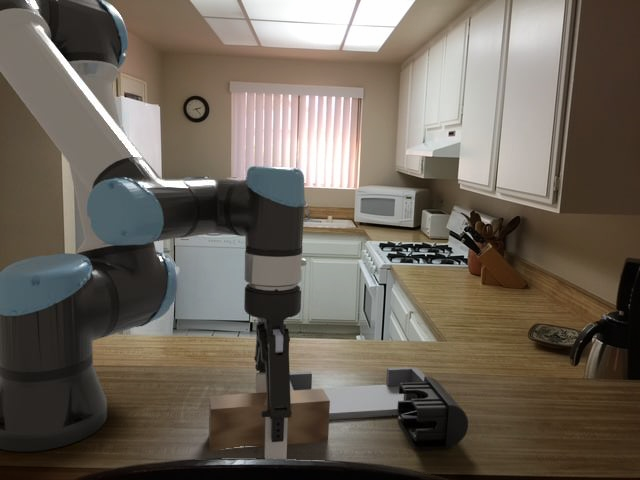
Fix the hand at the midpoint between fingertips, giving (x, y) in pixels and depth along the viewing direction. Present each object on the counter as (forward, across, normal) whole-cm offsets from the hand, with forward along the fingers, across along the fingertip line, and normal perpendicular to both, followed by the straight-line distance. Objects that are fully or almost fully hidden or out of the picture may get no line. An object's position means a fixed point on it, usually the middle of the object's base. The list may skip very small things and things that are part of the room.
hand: (269, 436), depth 74 cm
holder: (0, +8, -15) cm, 17 cm away
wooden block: (0, 0, 0) cm, 0 cm away
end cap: (+1, -2, -23) cm, 23 cm away
